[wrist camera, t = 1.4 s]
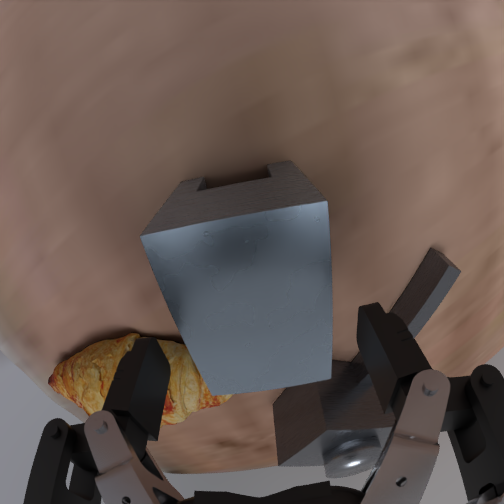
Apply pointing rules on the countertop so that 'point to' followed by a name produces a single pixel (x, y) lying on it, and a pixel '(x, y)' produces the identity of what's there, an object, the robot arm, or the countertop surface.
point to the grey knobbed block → (353, 393)
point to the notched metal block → (248, 279)
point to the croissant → (104, 367)
